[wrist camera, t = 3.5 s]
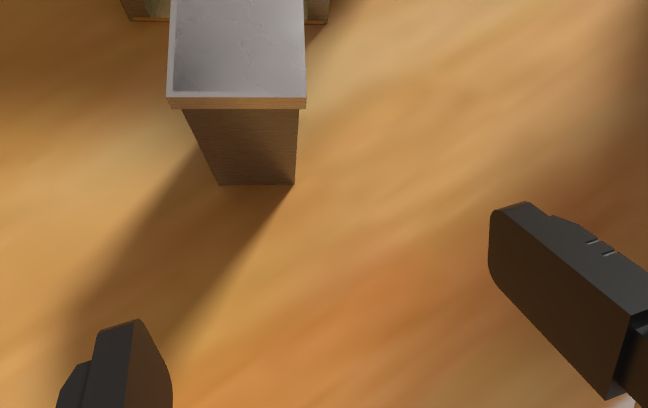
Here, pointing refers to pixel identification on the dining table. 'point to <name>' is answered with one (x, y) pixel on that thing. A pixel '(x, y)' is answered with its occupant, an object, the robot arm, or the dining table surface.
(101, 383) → the robot arm
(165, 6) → the keeper
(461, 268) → the dining table surface
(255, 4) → the bar
